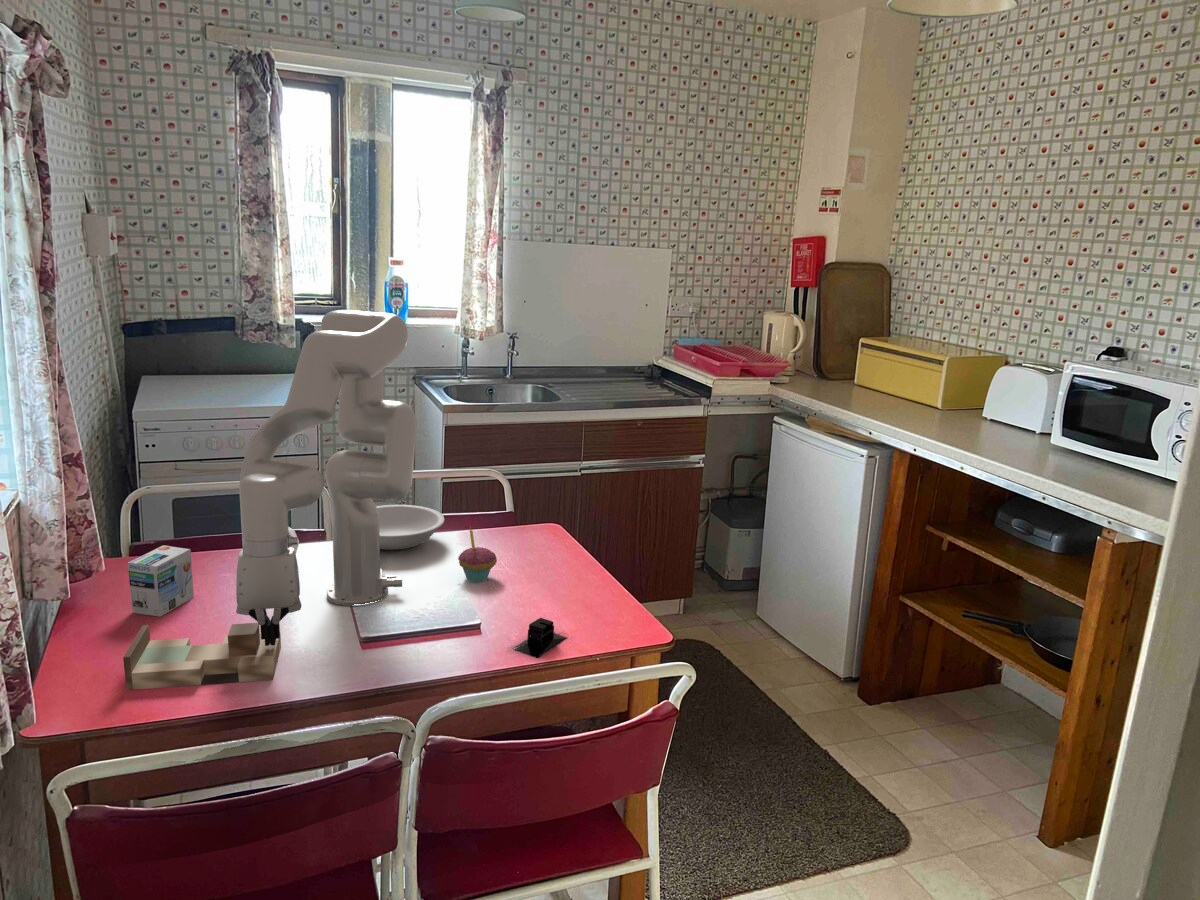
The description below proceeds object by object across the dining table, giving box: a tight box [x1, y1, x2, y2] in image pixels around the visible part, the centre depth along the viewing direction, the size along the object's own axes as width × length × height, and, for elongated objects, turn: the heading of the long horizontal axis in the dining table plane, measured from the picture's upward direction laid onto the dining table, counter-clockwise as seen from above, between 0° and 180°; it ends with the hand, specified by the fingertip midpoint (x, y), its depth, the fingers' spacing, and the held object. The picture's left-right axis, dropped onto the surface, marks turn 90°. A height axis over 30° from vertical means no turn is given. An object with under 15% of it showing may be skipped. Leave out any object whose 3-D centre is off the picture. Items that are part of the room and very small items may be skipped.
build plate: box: [511, 617, 568, 659], centre depth 167 cm, size 13×8×5 cm, turn 149°
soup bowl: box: [376, 504, 445, 551], centre depth 215 cm, size 24×24×7 cm
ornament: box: [288, 526, 300, 554], centre depth 200 cm, size 10×10×15 cm
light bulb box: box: [127, 545, 195, 617], centre depth 175 cm, size 11×7×11 cm, turn 168°
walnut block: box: [227, 622, 261, 657], centre depth 153 cm, size 4×4×4 cm
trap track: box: [122, 624, 282, 691], centre depth 152 cm, size 23×12×6 cm, turn 103°
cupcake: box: [457, 526, 498, 583], centre depth 196 cm, size 9×8×12 cm
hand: (270, 642), depth 154 cm, fingers closed
